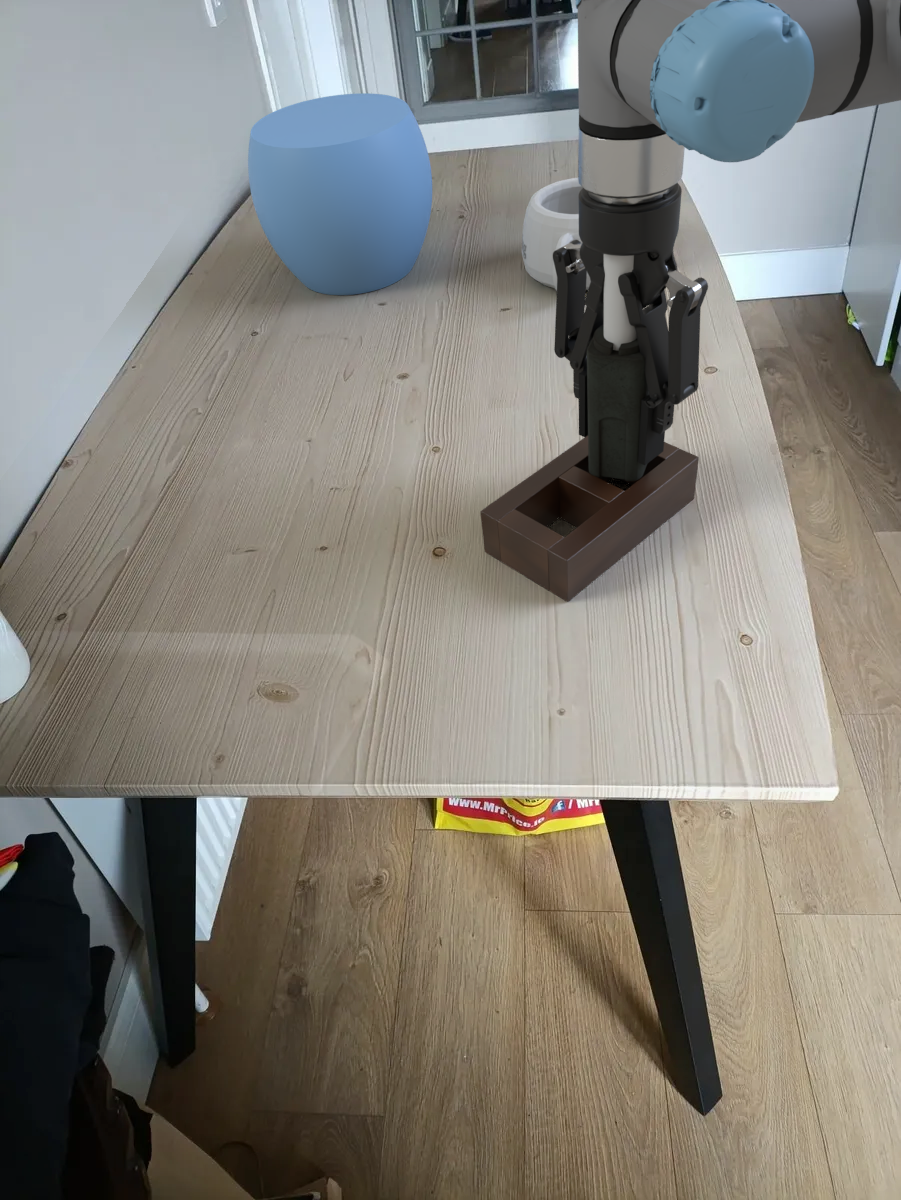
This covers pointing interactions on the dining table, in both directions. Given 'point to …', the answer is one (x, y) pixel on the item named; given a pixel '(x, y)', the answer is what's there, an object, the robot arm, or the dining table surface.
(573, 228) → the mug
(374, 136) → the blue rounded stool
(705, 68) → the robot arm
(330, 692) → the dining table surface
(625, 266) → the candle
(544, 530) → the rack
